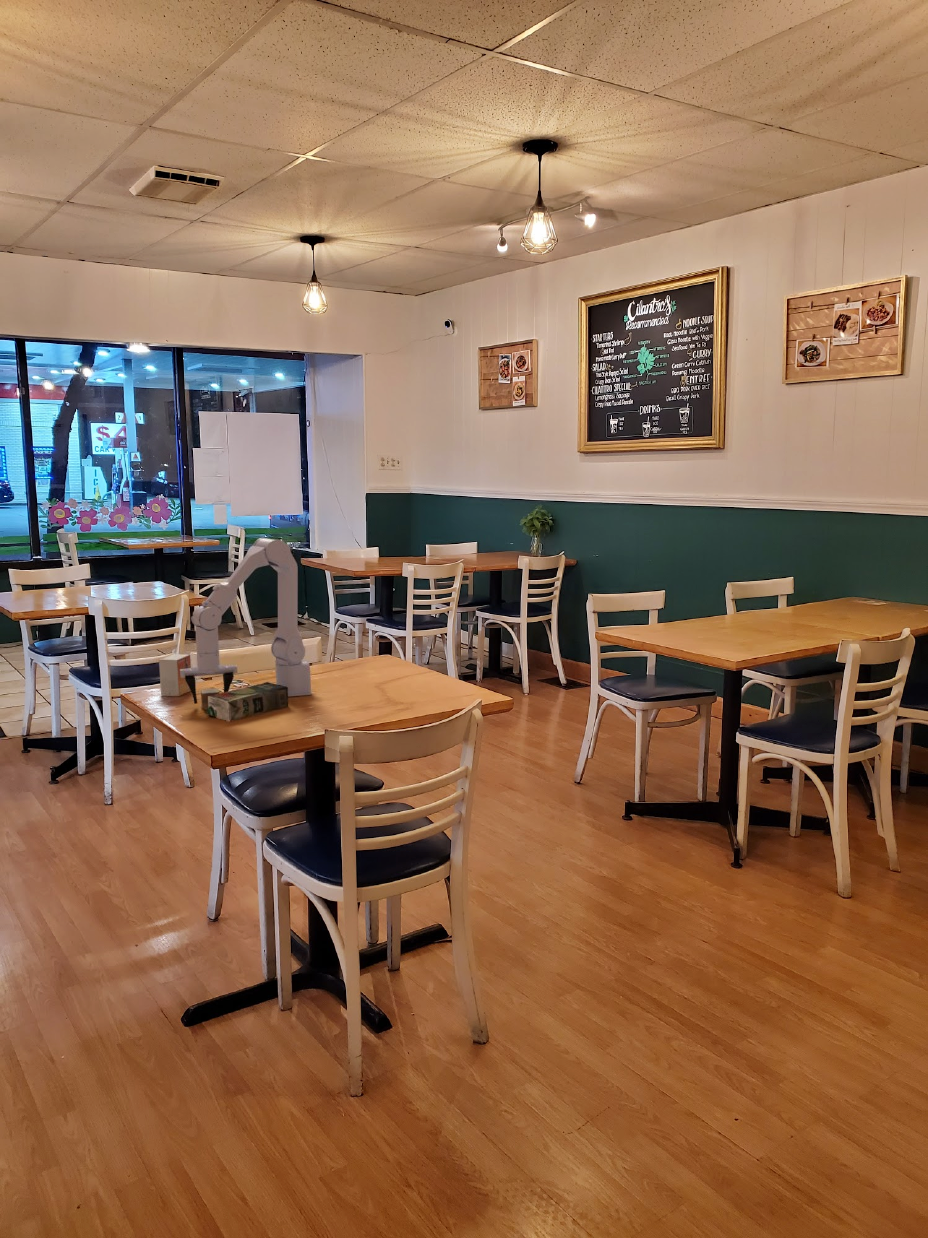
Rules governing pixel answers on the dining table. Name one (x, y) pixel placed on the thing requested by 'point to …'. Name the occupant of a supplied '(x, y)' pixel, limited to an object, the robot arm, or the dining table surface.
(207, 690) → the greyish beige block
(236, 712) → the juice carton
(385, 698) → the dining table surface
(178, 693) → the small box
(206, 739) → the dining table surface
